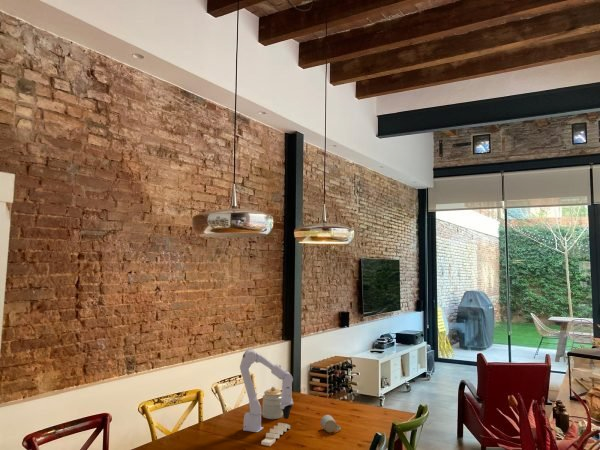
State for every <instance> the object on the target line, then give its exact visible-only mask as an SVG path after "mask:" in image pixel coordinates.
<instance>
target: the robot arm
mask: <svg viewBox="0 0 600 450" xmlns="http://www.w3.org/2000/svg"><path fill="white" fill-rule="evenodd" d="M255 363H260V364H262V365H264V366H265V367H267V368H268V369H269V370H270V371H271V374H272V375H274V376H275V377H276V378H278V379H279V380H281V381H282V386H281V392H282V402H281V405H280V409H282V411H283V419H285V420H288V419H289V417H290V413H291V410H292V408H293V405H294V400H293V397H292V396H293V393H292V392H293V390H292V389H293V387H292V386H293V381H294V377H293V376H292V374H291V373H290V372H289V371H288V370H286V369H284V368H283V367H282V365H281V364H273V363H272V362H271V361H270V360H268V359H267V358H266V357H265V356H263V355H262V354H260V353H258V352H257V351H255V350H254V349H252V348H249V349H246V350H245V352H244V353H243V354H242V358H241V361H240V365H239V369H240V373H241V377H242V380H243V383H244V387H245V390H246V394H247V398H248V406H249V407H248V408H249V411H248V412H247V411H246V412H245V414H244V417H243V429H242V431H245V432H253V433H260V432H261V431H262V430H263V429H264V426H262V410H263V407H262V405H261V404H260V401H259V400H258V397H257V395H256V390H255V387H254V383H253V380H252V377H251V376H252V375H251V373H250V370H249V369H250V367H251V366H252V365H253V364H255Z"/></svg>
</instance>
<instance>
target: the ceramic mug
mask: <svg viewBox="0 0 600 450" xmlns="http://www.w3.org/2000/svg"><path fill="white" fill-rule="evenodd" d="M320 425H321V427H322V428H323V429H324V430H325V431H326V433H334V432H335V431H337V432H340V431H341V429H342V427H341V426H339V424H337V422H336V420H335V419H334V417H333V416H332V415H330V414H325V415H323V416H322V417H321V419H320Z"/></svg>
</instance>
